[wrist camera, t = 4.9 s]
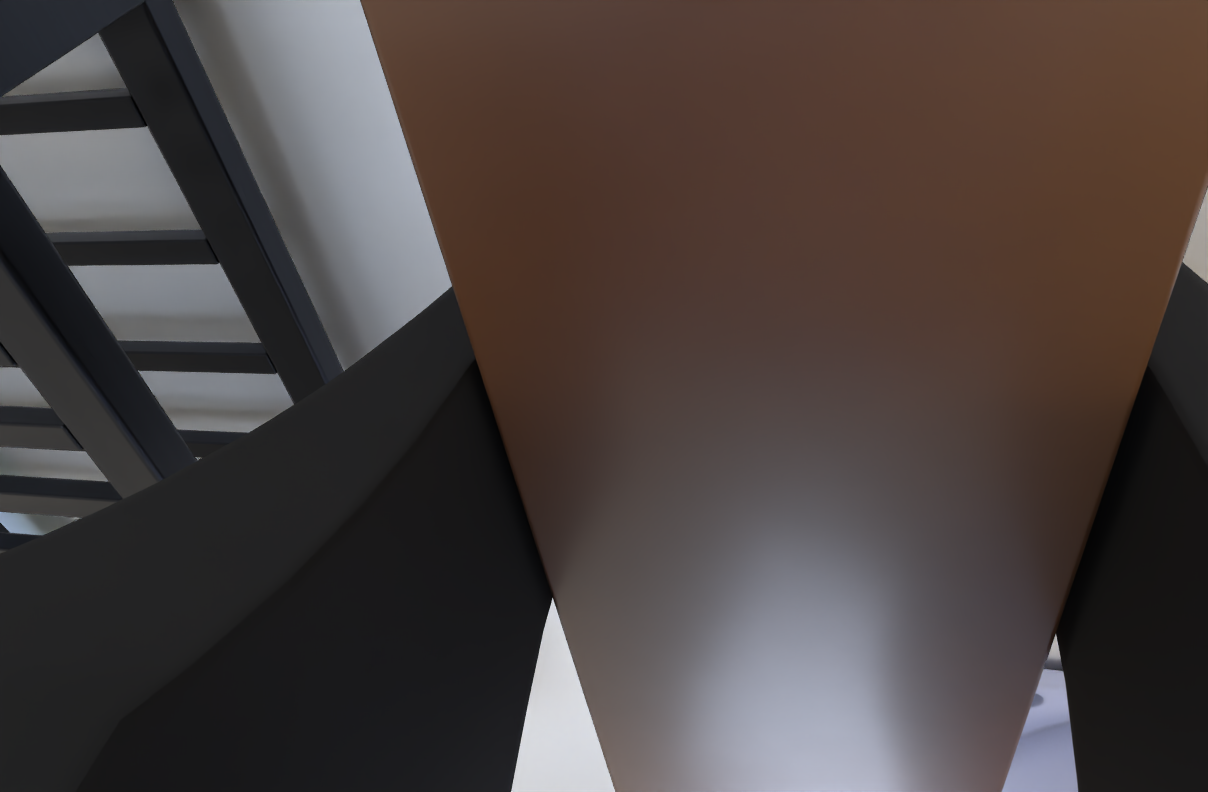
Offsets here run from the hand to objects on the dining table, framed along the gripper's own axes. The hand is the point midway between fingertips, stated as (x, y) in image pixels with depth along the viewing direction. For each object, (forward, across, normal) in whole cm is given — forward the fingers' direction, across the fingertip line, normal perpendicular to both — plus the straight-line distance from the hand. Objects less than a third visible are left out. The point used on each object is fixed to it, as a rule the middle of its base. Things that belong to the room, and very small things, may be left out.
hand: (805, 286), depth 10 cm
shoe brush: (+2, 0, 0) cm, 2 cm away
